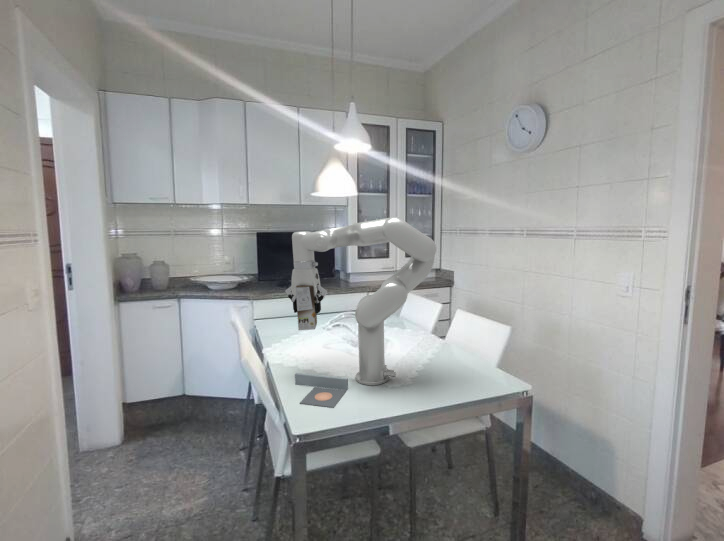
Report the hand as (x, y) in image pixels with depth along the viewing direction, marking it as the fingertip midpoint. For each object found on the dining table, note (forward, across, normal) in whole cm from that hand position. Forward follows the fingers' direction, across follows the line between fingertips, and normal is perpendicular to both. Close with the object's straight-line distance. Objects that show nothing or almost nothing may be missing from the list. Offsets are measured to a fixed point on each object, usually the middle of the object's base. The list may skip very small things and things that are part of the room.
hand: (307, 312), depth 143 cm
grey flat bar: (+26, -7, +6) cm, 27 cm away
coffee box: (+6, 0, 0) cm, 6 cm away
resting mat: (+26, -11, +14) cm, 31 cm away
